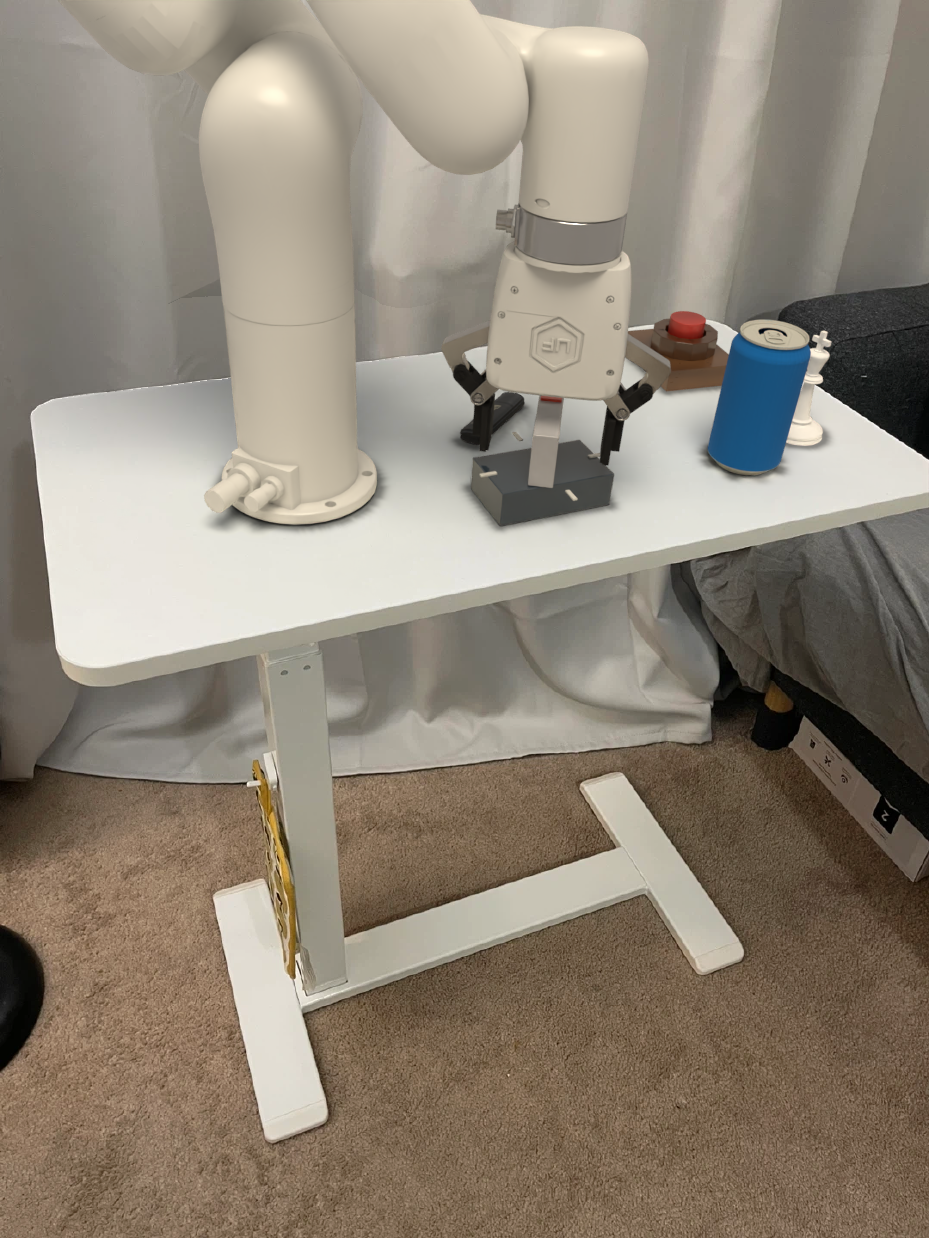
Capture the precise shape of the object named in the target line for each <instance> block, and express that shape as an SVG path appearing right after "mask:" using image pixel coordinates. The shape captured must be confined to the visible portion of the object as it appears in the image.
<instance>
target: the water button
mask: <svg viewBox="0 0 929 1238" xmlns="http://www.w3.org/2000/svg"><path fill="white" fill-rule="evenodd" d="M669 319H670V321H669V326H668V333H669V334H670V335H673V336H676V337H678V338H684V339H699V338H702V337H703V333H704V328H705V324H707V318H706V317H705V316H704V315H702V314H700V313H697V312H694V311H688V310H679V311H674V312H672V313H670V316H669Z"/></svg>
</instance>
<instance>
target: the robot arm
mask: <svg viewBox="0 0 929 1238" xmlns="http://www.w3.org/2000/svg"><path fill="white" fill-rule="evenodd" d="M305 1H306V2H307V4H308V5H309V7H310V9H311V10H312V12H311V10H309V8H308V7H307V6H306V5H305V3H304V2H303V1H302V0H57V2H58V3H59V4H60V5H61V6H62V7H63V8H64V9H65V10H66V11H67V12H68V13H69V14H70V15H71V16H72V17H73V18H74V20H76V21H77V23H78V24H79V25H80V26H81V27H82V28H83V29H84V30H85V31H86V33H88V35H90V36H91V38H92V39H93V40H94V41H95V42H96V43H97V44H98V45H99V46H100V47H101V48H102V49H103V50H104V52H106V53H107V54H108V55H109V56H110V57H112V58H113V59H114V60H116V61H117V62H118V63H120V64H122V65H123V66H124V67H125V68H127V69H129V70H132V71H134V72H137V73H139V74H143V75H145V76H151V77H152V76H153V77H166V76H171V75H175V74H178V73H181V72H183V71H184V72H185V73H186V74H187V76H189V77H190V78H191V79H192V80H193V81H194V83H195V84H196V85H197V86H198V87H199V88H200V89H201V90H202V91H203V92H204V93H205V95H207V97H206V99H205V103H204V106H203V109H202V113H201V116H200V122H199V123H200V124H199V130H198V158H199V165H200V171H201V178H202V184H203V187H204V193H205V198H206V201H207V205H208V206H207V207H208V211H209V215H210V220H211V226H212V230H213V231H212V232H213V237H214V243H215V249H216V250H215V251H216V257H217V264H218V276H219V280H220V281H219V282H220V283H219V284H220V291H221V302H222V306H223V307H222V308H223V318H224V326H225V335H226V337H225V338H226V344H227V345H226V346H227V355H228V364H229V374H230V384H231V385H230V386H231V394H232V403H233V405H232V406H233V413H234V423H235V432H236V440H237V441H236V442H237V443H236V444H237V448H235V449H234V450H233V451H232V452H231V457H230V458H229V460H228V461H227V462H226V463H225V465H224V467H223V469H222V472H221V480H220V481H219V482H217V483H216V484H214V485H213V486H211V487H210V488H209V489H208V490H206V491H205V492H204V494H203V497H204V498H203V499H204V503H205V504H206V506H207V507H208V508H209V510H211V511H212V512H214V513H216V514H222V513H223V512H224V511H226V510H228V508H230V507H232V506H233V507H234V508H235V509H237V510H238V511H239V512H241V513H244V514H245V515H247V516H249V517H252V518H254V519H258V520H261V521H264V522H269V523H274V524H281V525H311V524H312V525H313V524H319V523H325V522H329V521H333V520H336V519H340V518H343V517H344V516H348V515H349V514H352V513H354V512H355V511H357V510H359V509H361V508H362V507H363V506H364V505H366V503H367V502H369V501H370V500H371V498H372V497H373V495H374V494H375V493H376V489H377V486H378V481H377V480H378V471H377V467H376V464H375V462H374V461H373V460H372V458H371V457H370V456H369V455H368V454H367V453H366V452H365V451H363V450H361V449H360V448H358V409H357V407H358V403H357V402H358V401H357V397H358V396H357V354H356V353H357V346H356V345H357V343H356V340H357V339H356V338H357V337H356V304H355V303H356V302H355V267H354V243H353V240H354V239H353V224H352V223H353V222H352V206H351V205H352V204H351V166H352V158H353V157H352V156H353V154H354V151H355V148H356V143H357V141H358V138H359V134H360V131H361V127H362V121H363V115H364V114H363V113H364V111H363V110H364V101H363V93H362V88H361V85H360V83H361V84H362V85H363V86H364V88H365V89H366V91H368V93H369V94H370V96H371V97H372V98H373V99H374V100H375V102H376V103H377V105H379V107H380V109H382V111H383V113H385V115H386V116H387V117H388V119H389V120H390V121H391V122H392V124H393V125H394V127H396V129H397V131H399V132H400V133H401V135H402V136H403V138H404V139H405V140H406V142H408V143H409V144H410V146H411V147H412V148H413V149H414V150H415V152H417V153H418V154H419V155H420V156H421V157H422V158H423V159H425V160H426V161H427V162H428V163H430V164H431V165H432V166H434V167H436V168H438V169H440V170H442V171H444V172H446V173H450V174H454V175H460V176H472V175H473V176H474V175H477V174H478V175H479V174H483V173H485V172H488V171H491V170H492V169H494V168H496V167H497V166H499V165H500V164H502V163H503V162H504V161H505V160H507V159H508V157H509V156H511V154H512V153H513V152H514V151H515V149H516V147H517V146H518V145H519V144H520V142H521V145H522V157H521V158H522V159H521V167H520V179H519V180H520V181H519V190H518V191H519V193H518V204H514V206H513V208H507V210H506V209H497V210H496V217H495V230H499V231H505V233H507V234H510V238H513V239H514V240H513V241H511V242H510V243H508V244H507V245H506V247H505V248H504V250H503V253H502V256H501V258H500V259H501V260H500V263H499V267H498V271H497V276H496V280H495V286H494V291H493V297H492V305H491V312H490V319H489V320H486V321H483V322H482V323H479V324H476V325H473V326H471V327H468V328H466V329H462V330H460V331H458V332H455V333H452V334H450V335H448V336H446V337H444V338H443V341H442V343H441V346H440V349H441V353H442V355H443V357H444V359H445V361H446V363H447V365H448V367H449V368H450V371H451V373H452V378H453V380H454V381H455V382H456V383H457V384H458V385H459V386H460V387H461V389H462V390H463V391H464V392H466V394H467V395H468V396H469V399H470V403H472V404H473V418H472V420H473V436H480V445H478V446H479V447H478V448H479V449H478V451H479V452H483V453H485V452H487V451H489V449H490V445H491V441H492V437H493V435H492V430H493V417H494V404H495V400H496V393H497V392H498V391H499V390H500V391H504V392H513V393H518V394H521V395H523V394H524V395H532V396H533V395H534V396H539V395H540V396H549V397H559V398H564V399H570V400H580V401H589V402H591V401H592V402H598V401H599V402H601V401H603V402H604V403H605V405H606V410H605V416H604V421H603V428H602V435H601V440H600V450H599V453H600V457H599V459H600V463H602V465H606V466H607V467H609V465H610V460H611V454H612V452H618V453H619V452H620V449H621V444H622V437H623V432H624V426H625V421H627V420H628V419H629V418H630V417H631V414H632V413H634V412H635V411H637V410H638V409H639V408H641V407H643V406H644V405H646V404H647V403H649V401H651V400H652V399H653V397H654V394H655V393H656V392H657V391H658V390H659V389H660V388H661V385H662V384H663V382H664V381H665V380H666V379H667V377H668V376H669V375H670V373H671V364H670V361H669V360H668V359H666V358H665V357H663V356H662V355H660V354H659V353H657V352H655V351H654V350H652V349H651V348H649V347H648V346H646V345H645V344H643V343H642V342H640V341H639V340H637V339H635V338H634V337H632V336H631V335H629V334H628V331H629V326H630V316H631V303H632V268H631V267H632V266H631V261H630V257H629V255H628V254H627V253H626V252H625V251H624V250H623V245H624V238H625V232H626V225H627V217H628V210H629V204H630V197H631V191H632V185H633V178H634V177H633V176H634V173H635V172H634V171H635V165H636V158H637V153H638V152H637V151H638V145H639V137H640V130H641V124H642V116H643V110H644V104H645V99H646V98H645V97H646V90H647V84H648V76H649V66H650V57H649V52H648V49H647V46H646V45H645V43H644V42H643V41H642V39H640V38H639V37H637V36H635V35H634V34H632V33H629V32H627V31H623V30H619V29H613V28H607V27H601V26H589V25H587V26H586V25H570V26H569V25H567V26H559V27H554V28H550V27H545V26H544V27H543V26H538V25H532V24H527V23H522V22H518V21H514V20H509V19H505V18H501V17H496V16H492V15H489V14H488V15H487V14H482V13H480V12H479V11H478V10H477V8H476V7H475V5H474V4H473V2H472V1H471V0H305ZM485 345H487V347H486V359H485V369H484V370H483V371H482V372H481V373H480V372H479V371H478V370H477V369H476V367H474V365H473V364H472V363H471V362H470V361H469V359H468V358H467V355H466V352H468V351H471V350H474V349H476V348H478V347H482V346H485ZM625 359H627V360H628V361H630V362H631V363H633V364H635V365H636V366H637V367H639V368H641V369H642V370H643V371H644V372H645V373H644V375H643V377H642V378H640V379H639V380H637V381H636V382H635V383H633V384H632V385H631V386H629V387H627V388H626V387H625V386H624V384H623V382H622V378H623V373H624V367H625Z"/></svg>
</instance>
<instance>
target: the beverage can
mask: <svg viewBox="0 0 929 1238" xmlns="http://www.w3.org/2000/svg"><path fill="white" fill-rule="evenodd" d="M809 342H810V335H809V334H808V332H806V331H805V330H804V329H803V328H800V327H799V326H797V325H795V324H792V323H788V322H785V321H780V320H775V319H754V320H748V321H746V322H744V323H743V324H741V326H740V328H739V332H738V333H737V334H736V335H734V336H733V339H732V340H731V343H730V348H729V351H728V354H729V356H728V360H727V365H726V369H725V374H724V378H723V382H722V386H720V391H719V396H718V400H717V405H716V409H715V413H714V418H713V421H712V427H711V431H710V436H709V439H708V445H707V453H708V454H709V456H710V457H711V458H712V459H713V461H715V463H716V464H717V465H718V466H719V467H720V468H722V469H723V470H726V471H728V472H731V473H732V474H737V475H741V476H742V475H743V476H758V475H762V474H765V473H767V472H768V471H772V470H774V469H776V468H777V467H779V465H780V464H781V462H782V458H783V455H784V451H785V447H786V444H787V443H786V441H787V438H788V434H789V431H790V427H791V423H792V420H793V416H794V413H795V409H796V406H797V402H798V399H799V395H800V392H801V389H802V387H803V384H804V382H803V381H804V378H805V374H806V371H807V367H808V363H809V360H810V356H811V351H810V349H811V347H810V346H809Z"/></svg>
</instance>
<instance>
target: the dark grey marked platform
mask: <svg viewBox="0 0 929 1238" xmlns="http://www.w3.org/2000/svg"><path fill="white" fill-rule="evenodd" d="M511 434H512V436H513V437H514V438H515V439H516V440H517V441H518V442H523V441H524V438H523V437H522V436H521V435H520V434H519V433H518V432H517V431H514V432H513V431H512V432H511ZM531 448H532V447H528V448H522V449H516V450H509V451H504V452H499V453H493V454H487V455H486V454H485V455H481V456H475V457H472V464H471V478H470V479H471V480H470V489H471V491H472V492H473V493H474V495H475V496H476V497H477V499H478V500H479V501H480V502H481V504H482V505H483V506H484V508H485V509H486V510H487V511H488V513H489V515H491V517H492V518H493V519H494V520H495V522H496V523H497V524H498V526H500V527H503V526H504V527H505V526H508V525H514V524H519V523H524V522H529V521H534V520H539V519H544V518H548V517H549V518H550V517H555V516H560V515H565V514H569V513H575V512H579V511H584V510H585V511H586V510H591V509H595V508H596V509H597V508H600V507H605V506H609V505H610V504H611V503H610V502H611V497H612V491H613V485H614V480H615V479H614V478H615V473H614V472H613V471H612V470H611V469H610V468H609V466H607V465H602V463H600V452H596V453H594V452H593V451H592V450H591V449H590V448H589V447H588V446H587V445H586V444H585V443H584V442H583V441H582V440H581V439H575V440H568V441H564V442H559V443H558V451H557V459H556V467H555V475H554V483H553V488H547V487H538V486H529V485H528V477H529V467H530V458H531Z"/></svg>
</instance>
